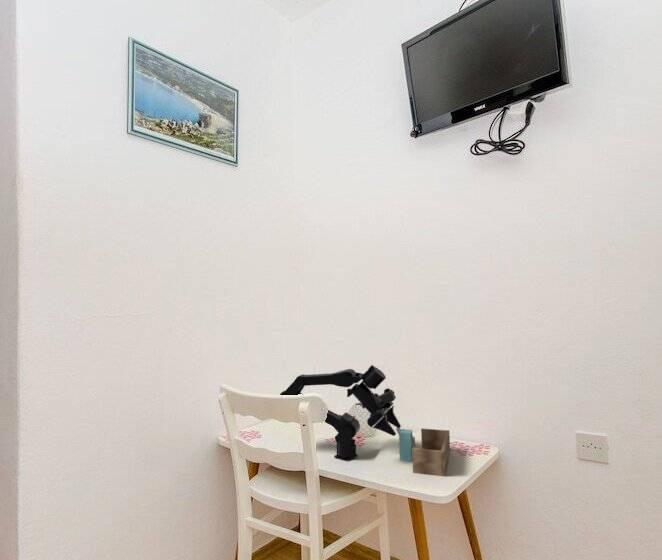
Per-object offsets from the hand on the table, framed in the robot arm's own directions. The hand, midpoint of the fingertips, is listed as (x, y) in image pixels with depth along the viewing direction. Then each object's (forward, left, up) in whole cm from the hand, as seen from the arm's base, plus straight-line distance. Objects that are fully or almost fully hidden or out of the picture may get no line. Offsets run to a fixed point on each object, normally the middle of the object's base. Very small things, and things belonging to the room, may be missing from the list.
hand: (397, 431), depth 148 cm
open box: (+12, +4, -11) cm, 16 cm away
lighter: (-4, +14, -11) cm, 18 cm away
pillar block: (+3, +1, -11) cm, 11 cm away
